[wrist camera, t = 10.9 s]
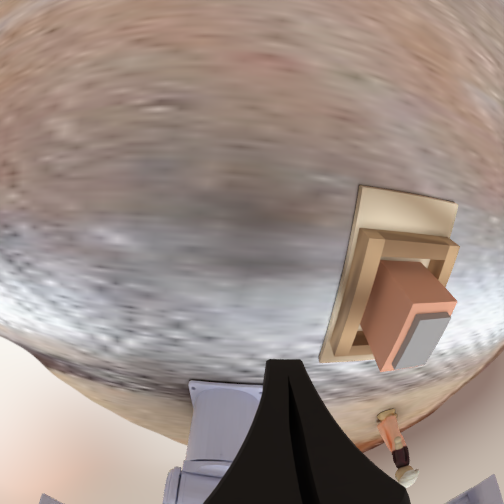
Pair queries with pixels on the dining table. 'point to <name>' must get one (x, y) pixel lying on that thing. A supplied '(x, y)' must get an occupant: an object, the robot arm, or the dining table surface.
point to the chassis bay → (386, 258)
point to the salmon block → (405, 314)
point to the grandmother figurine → (397, 447)
